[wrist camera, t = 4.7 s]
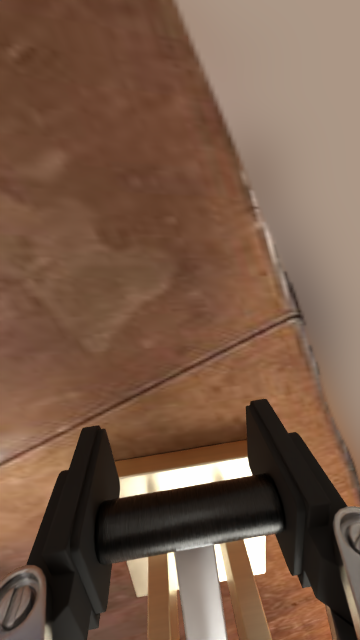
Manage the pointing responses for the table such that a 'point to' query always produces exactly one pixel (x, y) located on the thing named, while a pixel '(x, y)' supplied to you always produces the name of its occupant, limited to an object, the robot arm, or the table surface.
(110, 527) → the lever
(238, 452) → the bracket
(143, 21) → the table surface
